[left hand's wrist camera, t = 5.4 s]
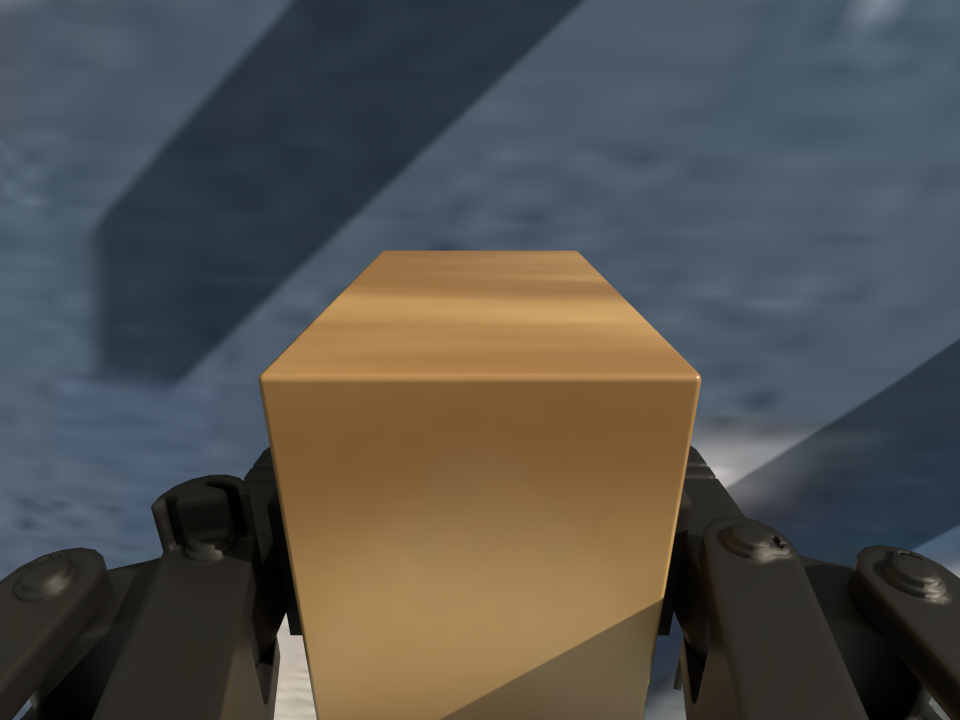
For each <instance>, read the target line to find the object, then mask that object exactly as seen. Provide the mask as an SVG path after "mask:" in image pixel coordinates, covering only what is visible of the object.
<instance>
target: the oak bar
mask: <svg viewBox="0 0 960 720" xmlns="http://www.w3.org/2000/svg"><path fill="white" fill-rule="evenodd" d="M700 384H701V378H700V374H699V373H698V372H697V371H696V370H695V369H694V368H693V367H692V366H691V365H690V364H689V363H688V362H687V361H686V360H685V359H684V358H683V357H682V356H681V355H680V354H679V353H678V352H677V351H676V350H675V349H674V348H673V347H672V346H671V345H670V344H669V343H668V342H667V341H666V340H665V339H664V338H663V337H662V336H661V335H660V334H659V333H658V332H657V331H656V330H655V329H654V328H653V327H652V326H651V325H650V324H649V323H648V322H647V321H646V320H645V319H644V318H643V317H642V316H641V315H640V314H639V313H638V312H637V311H636V310H635V309H634V308H633V307H632V306H631V305H630V304H629V303H628V302H627V301H626V300H625V299H624V298H623V297H622V296H621V295H620V294H619V293H618V292H617V291H616V290H615V289H614V288H613V287H612V286H611V285H610V284H609V283H608V282H607V281H606V280H605V279H604V278H603V277H602V276H601V275H600V274H599V273H598V272H597V271H596V270H595V269H594V268H593V267H592V266H591V265H590V264H589V263H588V262H587V261H586V260H585V259H584V258H583V257H582V256H581V255H580V254H579V253H578V252H577V251H383V252H381V253H380V254H379V255H378V256H377V257H376V258H375V259H374V260H373V261H372V262H371V263H370V264H369V265H368V266H367V267H366V268H365V269H364V270H363V271H362V272H361V273H360V274H359V275H358V276H357V277H356V278H355V279H354V280H353V281H352V282H351V283H350V284H349V285H348V286H347V288H346V289H345V290H344V291H343V292H342V293H341V294H340V295H339V296H338V297H337V298H336V299H335V300H334V301H333V302H332V303H331V304H330V305H329V306H328V307H327V308H326V309H325V310H324V311H323V312H322V313H321V314H320V315H319V316H318V317H317V318H316V319H315V320H314V321H313V322H312V323H311V324H310V325H309V326H308V327H307V328H306V329H305V330H304V331H303V332H302V333H301V334H300V335H299V336H298V337H297V338H296V339H295V340H294V341H293V342H292V343H291V344H290V345H289V346H288V347H287V348H286V349H285V350H284V351H283V352H282V353H281V354H280V355H279V356H278V357H277V358H276V359H275V360H274V361H273V362H272V363H271V364H270V365H269V366H268V367H267V368H266V369H265V370H264V371H263V372H262V373H261V374H260V377H259V386H260V392H261V398H262V403H263V409H264V415H265V421H266V427H267V432H268V438H269V444H270V450H271V456H272V461H273V467H274V473H275V479H276V485H277V490H278V496H279V502H280V508H281V514H282V520H283V525H284V531H285V537H286V543H287V549H288V554H289V560H290V566H291V572H292V578H293V583H294V589H295V595H296V601H297V607H298V612H299V618H300V624H301V630H302V636H303V641H304V647H305V653H306V659H307V665H308V670H309V676H310V682H311V688H312V694H313V700H314V705H315V711H316V717H317V720H643V715H644V710H645V704H646V698H647V692H648V686H649V681H650V675H651V669H652V663H653V657H654V652H655V646H656V640H657V634H658V628H659V623H660V617H661V611H662V605H663V599H664V593H665V588H666V582H667V576H668V570H669V564H670V559H671V553H672V547H673V541H674V535H675V530H676V524H677V518H678V512H679V506H680V501H681V495H682V489H683V483H684V477H685V471H686V466H687V460H688V454H689V448H690V442H691V437H692V431H693V425H694V419H695V413H696V408H697V402H698V396H699V390H700Z"/></svg>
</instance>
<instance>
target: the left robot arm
mask: <svg viewBox="0 0 960 720" xmlns="http://www.w3.org/2000/svg"><path fill="white" fill-rule="evenodd" d="M151 509H152V512H153V516H154V519H155V523H156V526H157V530H158V533H159V537H160V541H161V544H162V548H163V551H164V552H163V554H162V557H161V558H158V559H154V560H151V561H146V562H142V563H137V564H133V565H128V566H124V567H119V568H115V569H110V570H107V567H106V564H105V561H104V558H103V556H102V555H101V554H99V553H98V552H97V551H96V550H93V549H87V548H73V549H66V550H60V551H57V552H53V553H51V554H47V555H44V556H41V557H39V558H37V559H35V560H33V561H31V562H29V563H27V564H25V565H23V566H21V567H19V568H18V569H16V570H15V571H14V572H12V573H11V574H10V575H8V576H7V577H6V578H4V579H3V580H1V581H0V720H12V719H13V718H14V717H15V715H16V714H17V713H18V712H19V710H20V709H21V708H22V707H23V705H24V704H25V703H26V702H27V701H28V699H29V700H30V702H31V704H32V706H31V707H30V709H29V710H28V711H27V712H26V714H25V715H24V716H23V717H22V718H21V719H20V720H274V710H275V701H276V692H277V682H278V673H279V664H280V651H279V644H278V639H277V633H278V630H279V628H280V626H281V623H282V621H283V618H284V616H285V614H286V613H287V618H288V624H289V629H290V635H302V630H301V624H300V618H299V612H298V607H297V601H296V595H295V589H294V583H293V578H292V572H291V566H290V560H289V554H288V549H287V543H286V537H285V531H284V525H283V520H282V514H281V508H280V502H279V496H278V490H277V485H276V479H275V473H274V467H273V461H272V456H271V450H270V447H269V448H267V449H266V450H265V451H263V453H262V454H261V456H260V457H259V458H258V460H257V461H256V463H255V464H254V465H253V468H251V469H250V471H249V472H248V474H247V475H246V476H245V479H244V481H243V480H241V479H240V478H238V477H234V476H230V475H209V476H204V477H200V478H195V479H191V480H189V481H187V482H184V483H182V484H179V485H177V486H175V487H173V488H171V489H170V490H168V491H167V492H165V493H164V494H162V495H161V496H160V497H159V498H158V499H157V500H156V502H155V503H154V504H153V505H152V506H151ZM673 611H674V612H675V614H676V617H677V619H678V621H679V624H680V626H681V629H682V631H683V633H684V634H683V639H682V644H681V650H680V655H679V660H678V665H677V670H676V675H675V681H674V688H673V689H677V690H681V685H682V681H683V690H684V700H685V709H686V718H687V720H942V719H941V718H940V717H939V716H938V715H937V714H936V712H935V711H934V710H933V709H932V707H931V706H930V705H929V704H928V703H929V701H930V698H931V696H932V697H933V698H934V700H935V701H936V702H937V703H938V704H939V706H940V707H941V708H942V709H943V711H944V712H945V713H946V714H947V715H948V717H949V718H950V719H951V720H960V578H958V577H957V576H956V575H954V574H953V573H952V572H950V571H949V570H947V569H946V568H945V567H943V566H942V565H940V564H938V563H936V562H934V561H932V560H930V559H928V558H926V557H924V556H923V555H920V554H918V553H915V552H912V551H909V550H905V549H901V548H897V547H890V546H882V545H878V546H871V547H865V548H864V549H863V550H862V551H860V552H859V553H858V554H857V557H856V560H855V563H854V566H853V568H851V567H847V566H842V565H837V564H833V563H828V562H824V561H819V560H814V559H810V558H807V557H803V556H800V555H798V553H797V551H796V550H795V548H794V547H793V546H792V544H791V543H790V541H789V540H788V539H787V538H786V537H784V536H783V535H782V534H780V533H779V532H778V531H777V530H775V529H774V528H771V527H769V526H767V525H765V524H763V523H761V522H759V521H756V520H752V519H748V518H746V517H745V516H744V514H743V513H742V512H741V510H740V509H739V507H738V506H737V505H736V503H735V502H734V501H733V499H732V498H731V497H730V495H729V494H728V492H727V491H726V490H725V488H724V487H723V486H722V484H721V483H720V481H719V480H718V479H716V478H715V475H714V473H713V472H712V470H711V469H710V468H709V467H707V464H706V462H705V461H704V459H703V458H702V457H701V455H700V454H699V453H698V451H697V450H696V449H695V448H693V447H692V446H690V448H689V454H688V460H687V466H686V471H685V477H684V483H683V489H682V495H681V501H680V506H679V512H678V518H677V524H676V530H675V535H674V541H673V547H672V553H671V559H670V564H669V570H668V576H667V582H666V588H665V593H664V599H663V605H662V611H661V617H660V623H659V628H658V634H657V635H669V633H670V627H671V622H672V616H673Z"/></svg>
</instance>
